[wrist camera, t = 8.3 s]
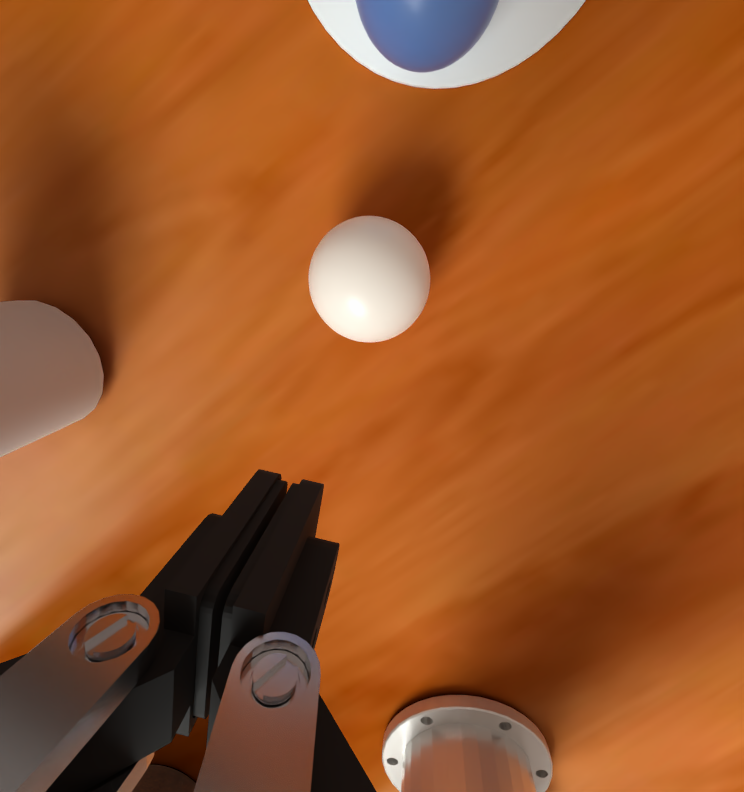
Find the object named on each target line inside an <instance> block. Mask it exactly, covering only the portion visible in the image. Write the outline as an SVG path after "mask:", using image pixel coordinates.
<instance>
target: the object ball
mask: <svg viewBox="0 0 744 792" xmlns="http://www.w3.org/2000/svg"><path fill="white" fill-rule="evenodd" d="M355 1H356V5H357V9H358V13H359V16H360V19H361V22H362V25H363V27H364V29H365V31H366V33H367V35H368V37H369V39H370V40H371V42H372V44H373V45H374V46H375V47H376V49H377V50H378V51H379V52H380V53H381V54H382V55H383V56H384V57H385V58H386V59H387V60H388V61H390V62H391V63H393V64H394V65H396V66H398V67H400V68H402V69H405V70H408V71H412V72H419V73H426V72H433V71H437V70H440V69H443V68H445V67H448V66H450V65H451V64H453V63H455V62H456V61H458V60H459V59H460V58H462V57H463V56H464V55H465V54H466V53H468V52H469V51H470V50H471V49H472V47H473V46H474V45H475V44H476V43H477V42H478V40H479V39H480V38H481V36H482V35H483V33H484V32H485V30H486V28H487V27H488V25H489V23H490V21H491V19H492V17H493V15H494V13H495V10H496V8H497V5H498V2H499V0H355Z"/></svg>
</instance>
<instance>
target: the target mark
mask: <svg viewBox="0 0 744 792" xmlns="http://www.w3.org/2000/svg"><path fill="white" fill-rule="evenodd" d="M585 1H586V0H499V2H498V5H497V8H496V10H495V13H494V15H493V17H492V19H491V21H490V23H489V25H488V27H487V28H486V30H485V32H484V33H483V35H482V36H481V38H480V39H479V40H478V42H477V43H476V44H475V45H474V46H473V47H472V49H471V50H470V51H469V52H468V53H466V54H465V55H464V56H463V57H462V58H460V59H459V60H458V61H456V62H455V63H453V64H451V65H450V66H448V67H445V68H443V69H440V70H437V71H433V72H426V73H419V72H412V71H408V70H405V69H402V68H400V67H398V66H396V65H394V64H393V63H391V62H390V61H388V60H387V59H386V58H385V57H384V56H383V55H382V54H381V53H380V52H379V51H378V50H377V49H376V47H375V46H374V45H373V44H372V42H371V40H370V39H369V37H368V35H367V33H366V31H365V29H364V27H363V25H362V22H361V19H360V16H359V13H358V9H357V5H356V1H355V0H308V2H309V4H310V6H311V8H312V10H313V12H314V13H315V15H316V16H317V18H318V19H319V21H320V22H321V24H322V25H323V26H324V28H325V29H326V31H327V32H328V33H329V34H330V36H331V37H332V38H333V39H334V40H335V41H336V42H337V44H338V45H339V46H340V47H341V48H342V49H343V50H344V51H345V52H347V53H348V54H349V55H350V56H351V57H352V58H353V59H355V60H356V61H357V62H358V63H360V64H361V65H363V66H364V67H366V68H368V69H369V70H371V71H372V72H374V73H375V74H378V75H380V76H382V77H384V78H387V79H389V80H391V81H393V82H397V83H400V84H404V85H408V86H412V87H418V88H428V89H447V88H458V87H462V86H467V85H472V84H476V83H479V82H482V81H485V80H488V79H490V78H493V77H496V76H498V75H500V74H502V73H504V72H506V71H508V70H510V69H512V68H514V67H515V66H517V65H519V64H520V63H522V62H523V61H525V60H526V59H528V58H529V57H530V56H532V55H533V54H535V53H536V52H538V51H539V50H540V49H541V48H542V47H543V46H544V45H546V44H547V43H548V42H549V41H550V40H551V39H552V38H554V37H555V36H556V35H557V34H558V33H559V32H560V31H561V30H562V28H563V27H564V26H565V25H566V24H567V23H568V22H569V21H570V20H571V19H572V17H573V16H574V15H575V14H576V13H577V11H578V10H579V9H580V7H581V6H582V5H583V3H584V2H585Z"/></svg>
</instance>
